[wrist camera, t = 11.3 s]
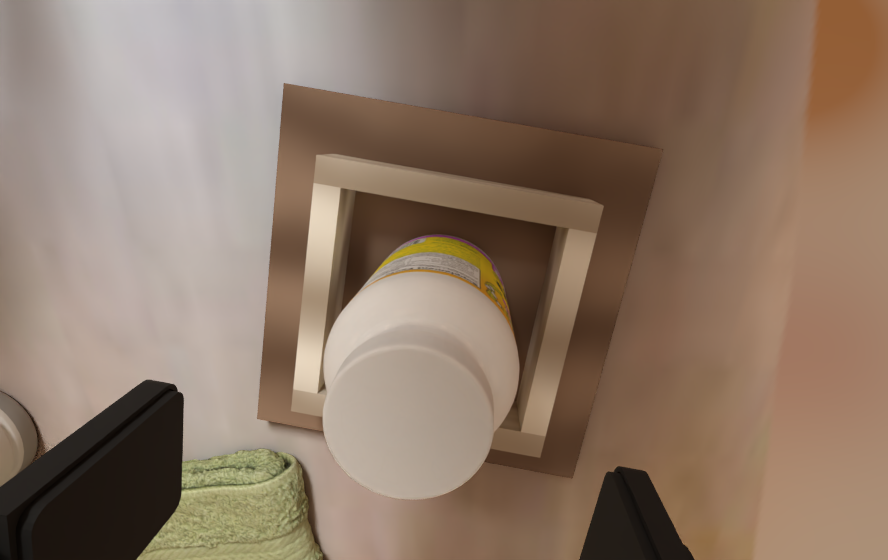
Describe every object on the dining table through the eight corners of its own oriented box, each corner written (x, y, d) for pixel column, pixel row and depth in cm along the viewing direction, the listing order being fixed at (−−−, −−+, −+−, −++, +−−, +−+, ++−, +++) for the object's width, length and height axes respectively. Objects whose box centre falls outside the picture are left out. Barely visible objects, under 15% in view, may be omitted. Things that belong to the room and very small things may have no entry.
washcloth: (38, 467, 32) (-9, 501, 29) (302, 434, 30) (282, 466, 27) (107, 629, 35) (71, 675, 32) (350, 608, 33) (336, 655, 30)
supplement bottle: (487, 367, 27) (496, 557, 14) (366, 339, 27) (270, 505, 14) (519, 246, 25) (560, 343, 13) (389, 217, 25) (302, 284, 13)
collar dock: (291, 85, 25) (256, 74, 21) (655, 149, 24) (689, 149, 20) (264, 410, 29) (232, 449, 26) (569, 467, 29) (583, 516, 25)
